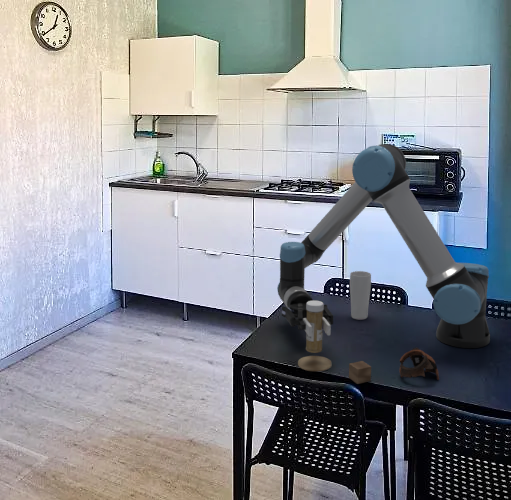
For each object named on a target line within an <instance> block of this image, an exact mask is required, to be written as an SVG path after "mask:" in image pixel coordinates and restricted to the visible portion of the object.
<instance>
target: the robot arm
mask: <svg viewBox="0 0 511 500" xmlns="http://www.w3.org/2000/svg"><path fill="white" fill-rule="evenodd" d="M406 167H407V160H406V156H405V154H404V153H403V151H402V150H401V149H400V148H399V147H398V146H396V145H394V144H391V143H381V144H378V145H371V146H368V147H366V148H364V149H363V150H362V151H360V152H359V154H358V155H356V157H355V158H354V161H353V163H352V167H351V168H352V170H351V171H352V177H353V180H354V183H353V184H352V185H351V186H350V187H349V188H348V190H347V191H346V192H345V193H344V194H343V195H342V196H341V197H340V199H338V201H337V202H336V203H335V204H334V205H333V206H332V207H331V208H330V210H329V211H328V212H327V213H326V214H325V216H324V217H322V218H321V220H320V221H319V222H318V223H317V224H316V225H315V227H314V228H313V229H312V230H311V231H310V232H309V233H308V234H307V236H306V237H304V239H303V240H302V241H301V242H299V241H287V242H286V241H285V242H284V243H281V245H280V252H279V271H280V272H279V282H278V284H277V295H278V297H279V298H280V300H281V301H282V302H283V304H284V305H285V306H282V307H281V317H283V318H285V320H286V321H287V322H288V324H289V325H290V327H292V328H294V327H296V326H297V329H298V331H302V330H303V331H305V334H306V333H307V335H308V336H309V337H311V336H312V326H311V325H310V323H309V322H308V320H307V310H306V303H307V302H308V301H314V299H313V298H312V297H311V296H310V294H309V293H308V292H307V290H305V272H306V271H305V269H306V268H308V267H310V266H311V265H313V264H315V263H317V262H318V261H319V260H320V259H321V258H322V257H323V254H324V253H325V251H327V249H328V248H329V247H330V246H331V245H332V244H333V243H334V242H335V241H336V240H337V239H338V238H339V236H341V235H342V233H343V232H344V231H345V230H346V229H347V228H348V227H349V226H350V225H351V224H352V222H354V220H355V219H357V218H358V216H359V215H360V214H361V213H362V212H363V211H364V210H365V208H366V207H368V205H369V204H370V203H371V202H372V201H373V202H374V203H377V204H380V205H382V207H383V209H384V210H385V212H386V213H387V215H388V216H389V218H390V220H391V221H392V223H393V225H394V226H395V228H396V230H397V231H398V234H400V236H401V238H402V239H403V241H404V243H405V245H406V246H407V248H408V249H409V251H410V252H411V254H412V256H413V257H414V259H415V261H416V262H417V264H418V266H419V267H420V269H421V270H422V272H423V273H424V275H425V277H426V281H425V287H426V289H427V291H428V292H429V294H430V295H431V297H432V299H433V301H432V304H433V308H434V312H435V313H436V315H437V316H438V317H439V318H440V321H439V323H438V324H437V325H438V326H437V328H436V332H435V334H436V336H435V337H436V339H437V340H438V341H439V342H440V343H442V344H445V345H447V346H452V347H456V348H463V349H477V348H483V347H486V346H488V345H489V344H490V341H491V339H490V338H491V334H490V330H489V326H488V322H487V318H486V309H487V300H488V299H487V295H488V285H489V278H490V275H489V270H490V269H489V268H488V267H487V266H485V265H483V264H478V263H470V262H456V261H455V259H454V258H453V257H452V255H451V253H450V252H449V250H448V248H447V246H446V244H445V243H444V242H443V240H442V238H441V237H440V236H439V234H438V232H437V231H436V229H435V228H434V226H433V224H432V222H431V221H430V219H429V217H428V215H427V214H426V213H425V211H424V210H423V207H422V206H421V205H420V203H419V201H418V200H417V199H416V197H415V195H414V194H413V191H412V190H411V188H410V184H411V177H409V175H408V173H407V171H406ZM322 319H323V320H322V322H323V327H322V331H324V333H325V334H326V335H327V336H331V332H332V331H331V330H332V329H331V327H332V325H334V315H333V313H332V312H331V311H330V310H329V308H328V304H324V309H323V318H322Z"/></svg>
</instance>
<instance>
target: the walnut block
mask: <svg viewBox="0 0 511 500" xmlns="http://www.w3.org/2000/svg"><path fill="white" fill-rule="evenodd" d="M348 364H349V365H348V378H349V379H350V380H351V381H352V382H354V383H355V384H357V385H359V384H364V383H368V382H371V380H372V366H371V365H370V364H368V363H366V362H365V361H363V360H360V361H359V360H358V361H355V362H351V363H348Z"/></svg>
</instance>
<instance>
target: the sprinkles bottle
mask: <svg viewBox="0 0 511 500" xmlns="http://www.w3.org/2000/svg"><path fill="white" fill-rule="evenodd" d="M324 305H325V304H324V302H322V301H320V300H313V301H308V302H307V303H306V310H307V318H306V319H307V320H308V322H309V323H310V325H311V326H312V336H311V337H309V336H308V335H307V333H306V332H305V338H306V339H305V341H306V344H305V351H307V352H309V353H312V354H313V353H315V354H317V353H321V352H322V351H323V329H322V327H323V322H322V320H323V319H322V318H323V309H324Z"/></svg>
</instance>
